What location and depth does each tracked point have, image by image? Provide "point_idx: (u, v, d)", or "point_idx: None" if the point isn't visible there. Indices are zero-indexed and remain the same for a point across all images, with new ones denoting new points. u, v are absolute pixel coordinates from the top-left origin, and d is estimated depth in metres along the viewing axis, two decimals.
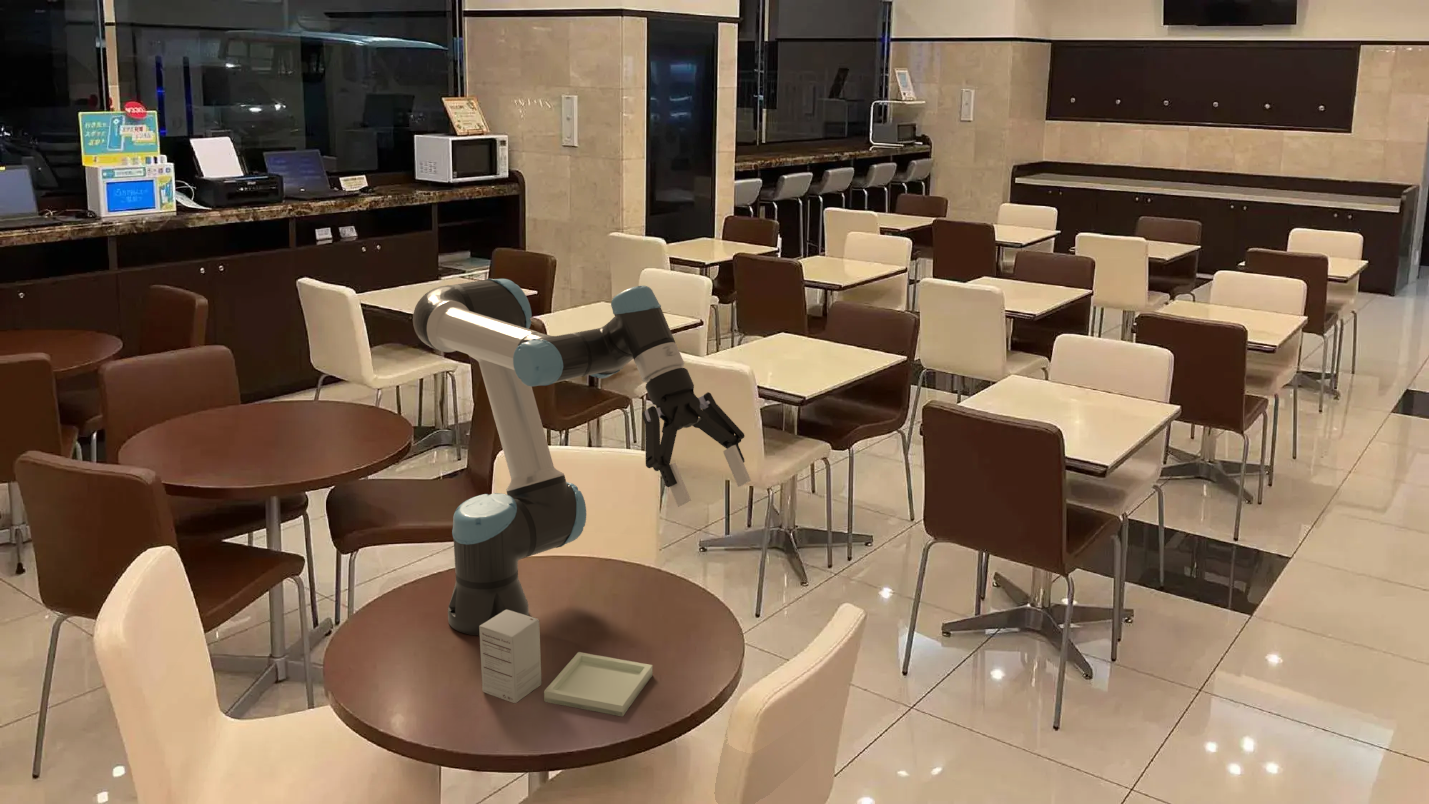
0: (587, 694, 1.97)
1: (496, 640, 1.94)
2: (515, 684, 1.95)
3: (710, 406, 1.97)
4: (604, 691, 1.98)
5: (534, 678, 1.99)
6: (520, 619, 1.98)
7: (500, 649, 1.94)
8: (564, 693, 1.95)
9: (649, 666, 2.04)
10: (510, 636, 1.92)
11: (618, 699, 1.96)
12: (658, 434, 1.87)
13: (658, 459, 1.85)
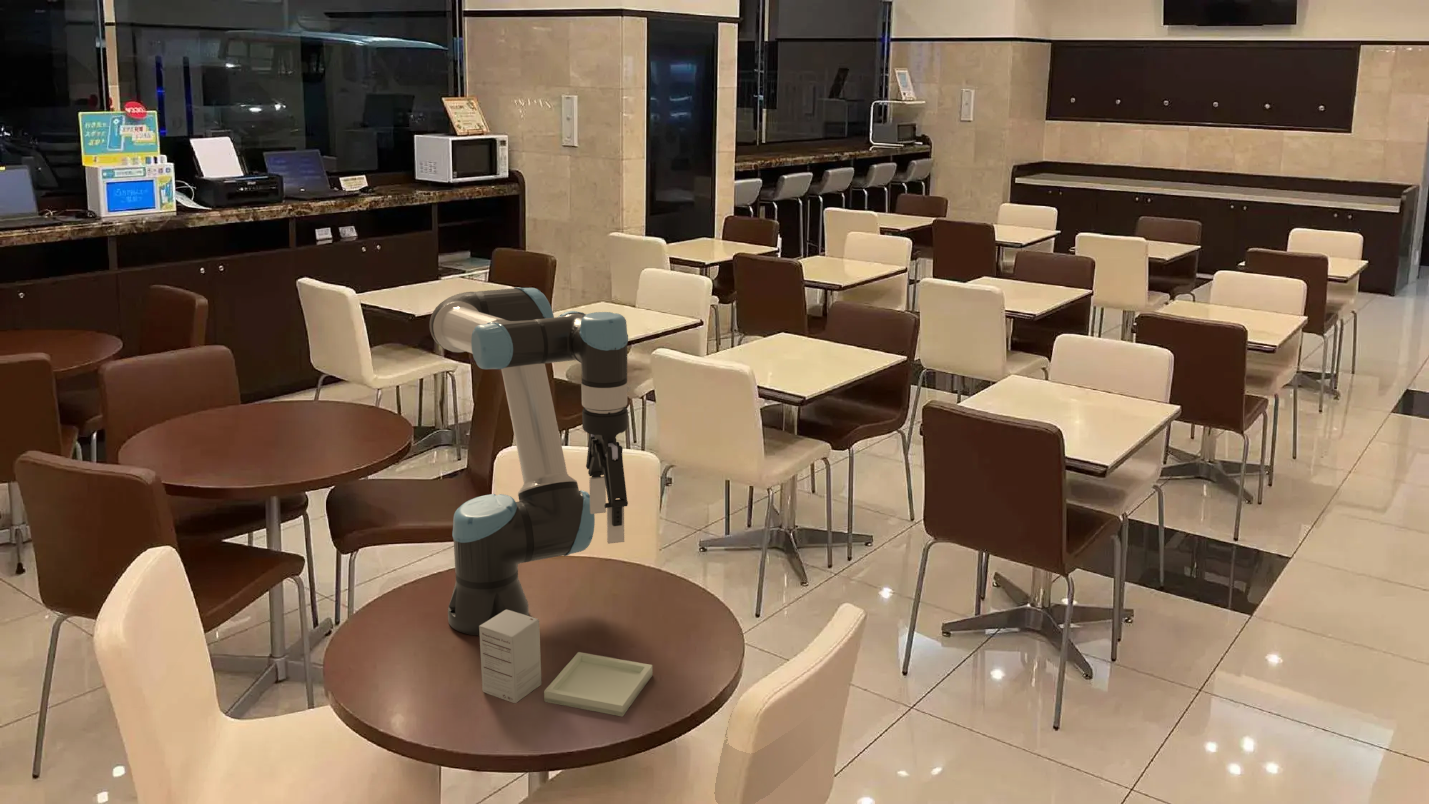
0: (587, 694, 1.97)
1: (496, 640, 1.94)
2: (515, 684, 1.95)
3: None
4: (604, 691, 1.98)
5: (534, 678, 1.99)
6: (520, 619, 1.98)
7: (500, 649, 1.94)
8: (564, 693, 1.95)
9: (649, 666, 2.04)
10: (510, 636, 1.92)
11: (618, 699, 1.96)
12: None
13: None
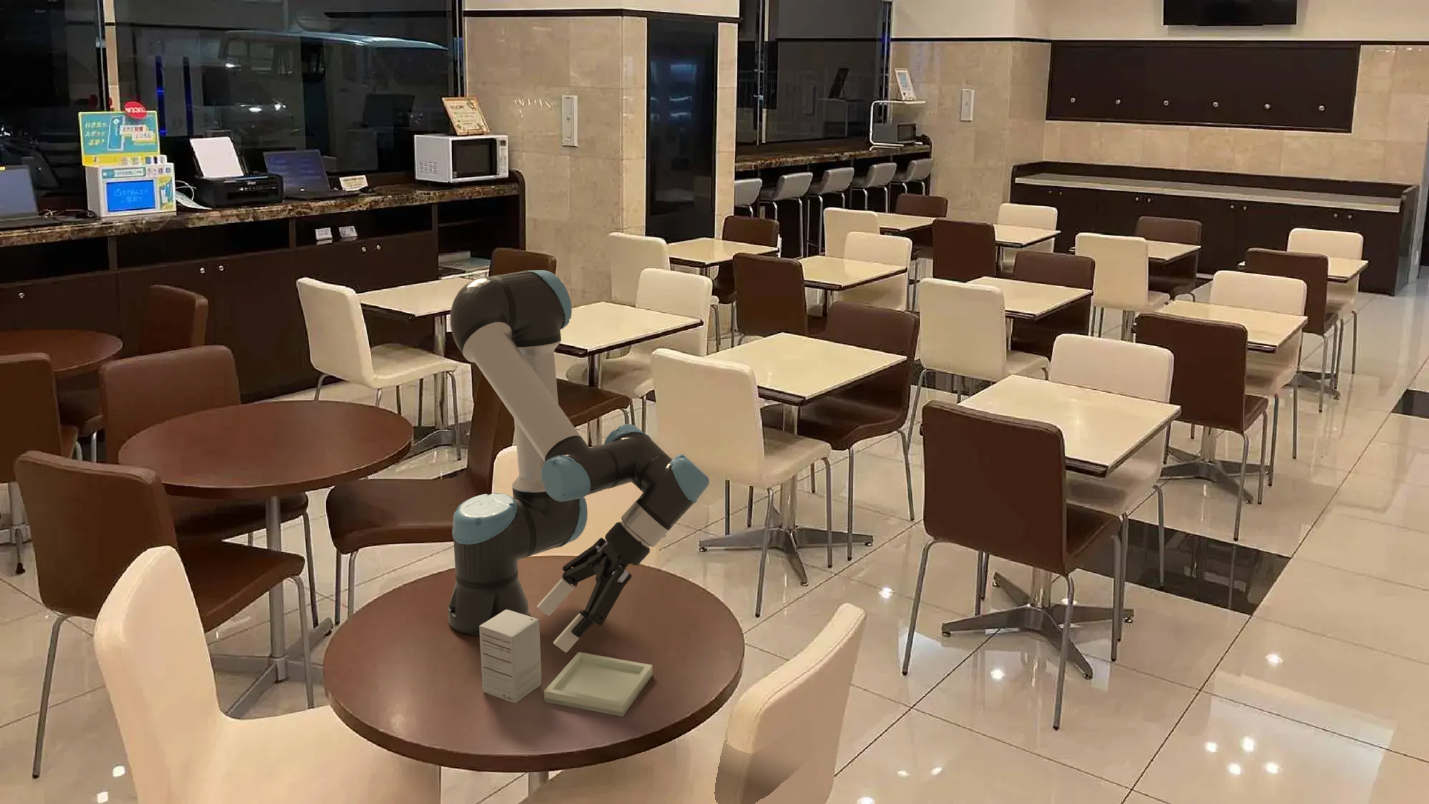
0: (587, 694, 1.97)
1: (496, 640, 1.94)
2: (515, 684, 1.95)
3: None
4: (604, 691, 1.98)
5: (534, 678, 1.99)
6: (520, 619, 1.98)
7: (500, 649, 1.94)
8: (564, 693, 1.95)
9: (649, 666, 2.04)
10: (510, 636, 1.92)
11: (618, 699, 1.96)
12: None
13: None
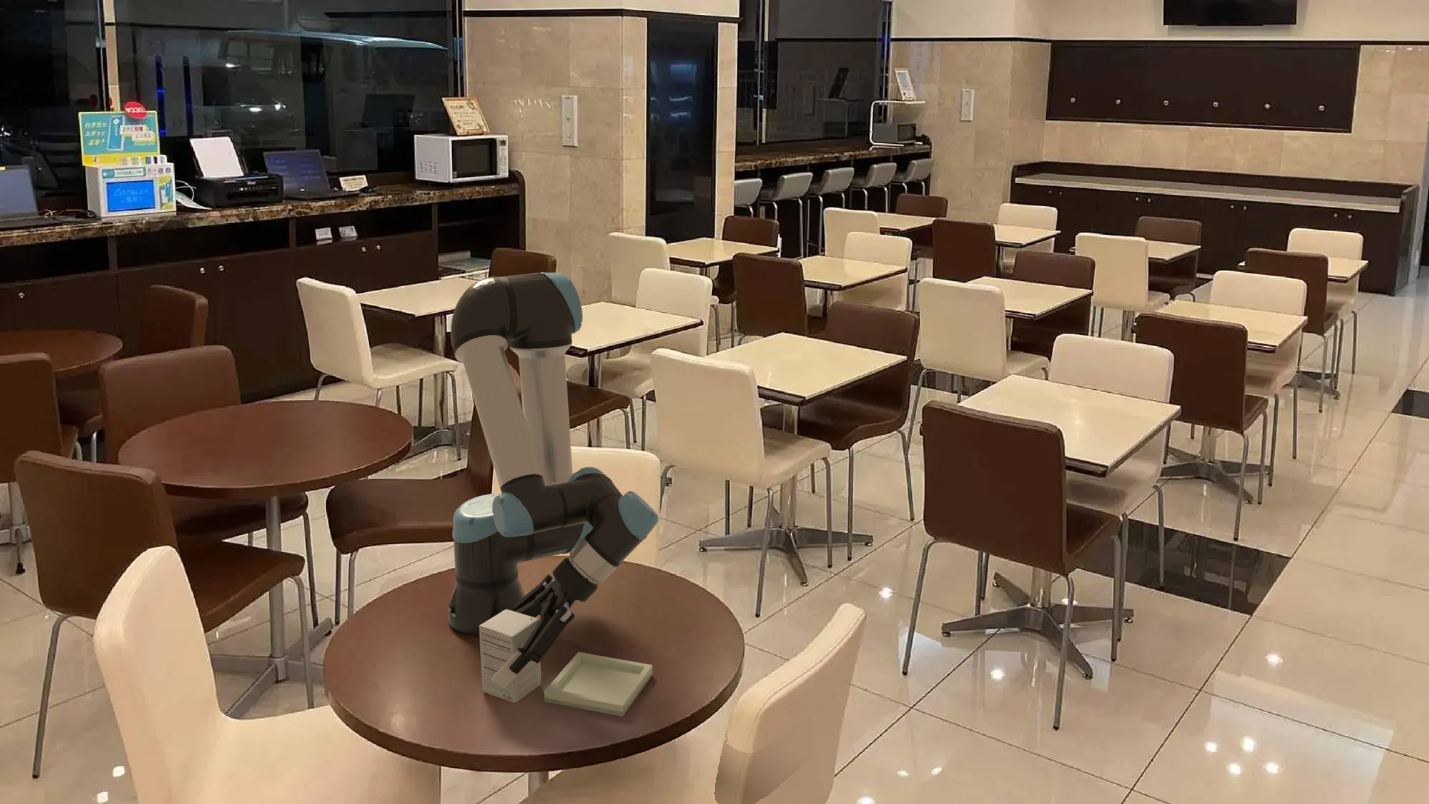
0: (587, 694, 1.97)
1: (496, 640, 1.94)
2: (514, 684, 1.95)
3: None
4: (604, 691, 1.98)
5: (534, 678, 1.99)
6: (520, 619, 1.98)
7: (500, 649, 1.94)
8: (564, 693, 1.95)
9: (649, 666, 2.04)
10: (510, 636, 1.92)
11: (618, 699, 1.96)
12: None
13: None
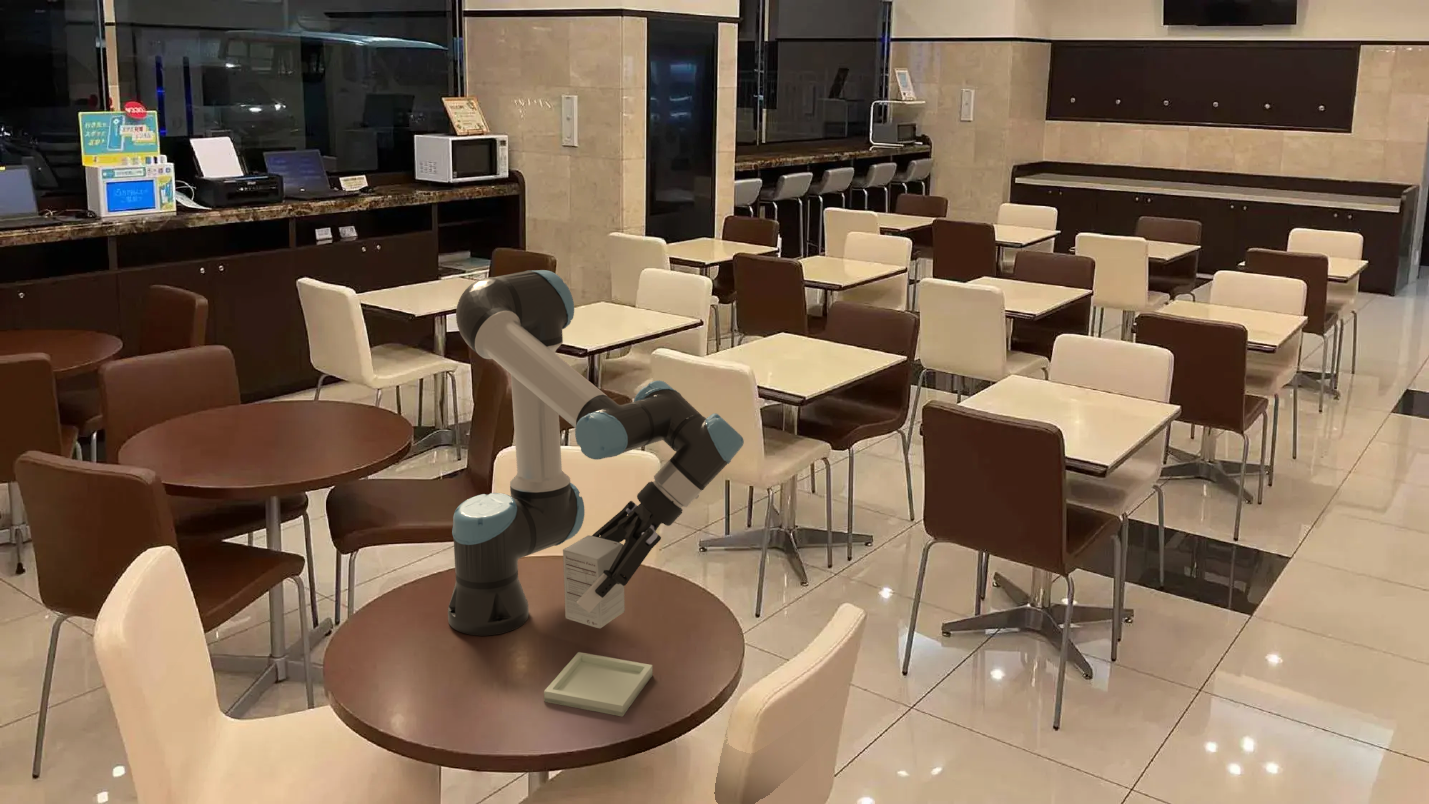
0: (587, 694, 1.97)
1: (581, 563, 1.91)
2: (599, 609, 1.91)
3: None
4: (604, 691, 1.98)
5: (617, 604, 1.96)
6: (604, 543, 1.94)
7: (585, 573, 1.91)
8: (564, 693, 1.95)
9: (649, 666, 2.04)
10: (596, 558, 1.89)
11: (618, 699, 1.96)
12: None
13: None
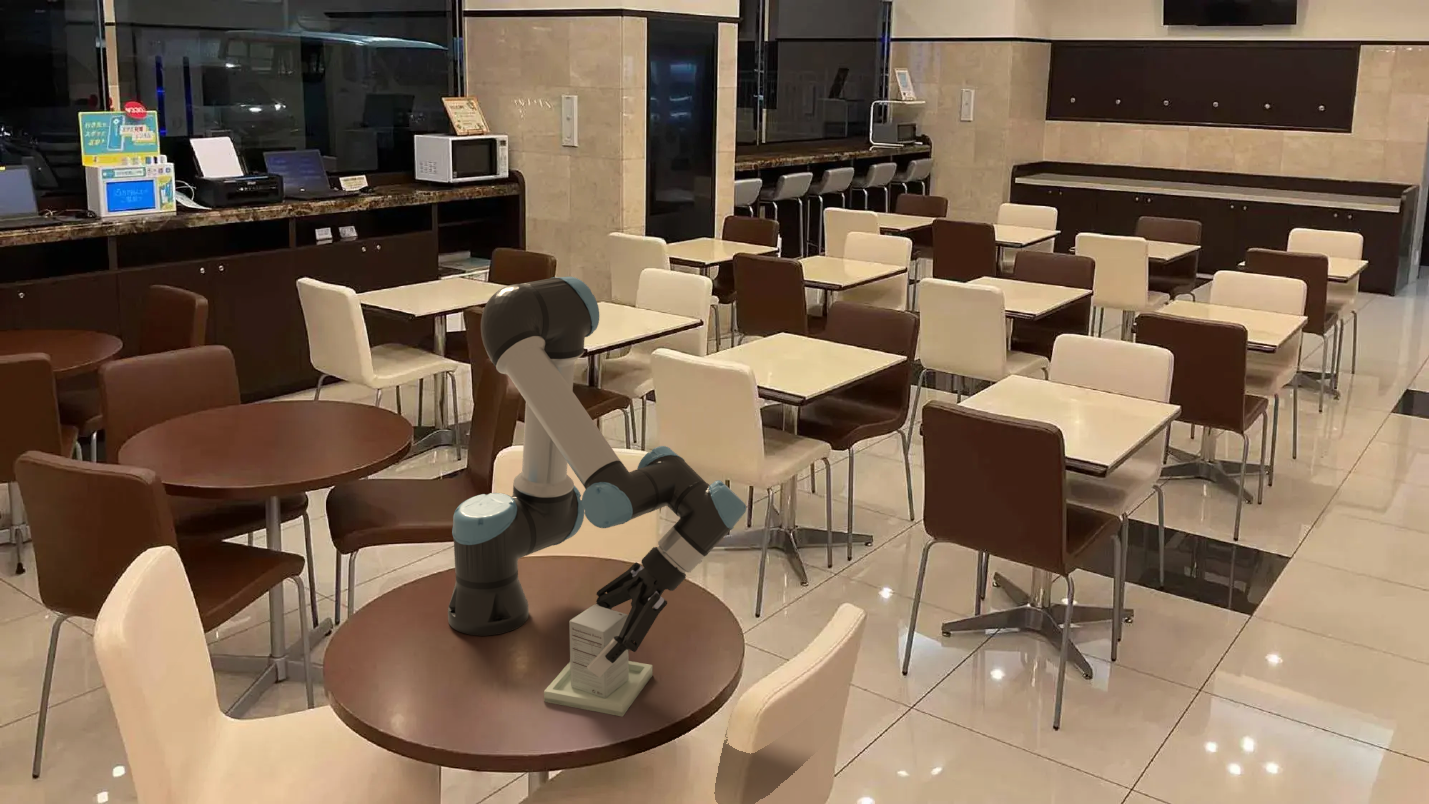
0: (587, 694, 1.97)
1: (587, 635, 1.94)
2: (605, 679, 1.95)
3: None
4: None
5: (622, 673, 2.00)
6: (609, 614, 1.98)
7: (590, 644, 1.95)
8: (564, 693, 1.95)
9: (649, 666, 2.04)
10: (602, 631, 1.93)
11: (618, 699, 1.96)
12: None
13: None
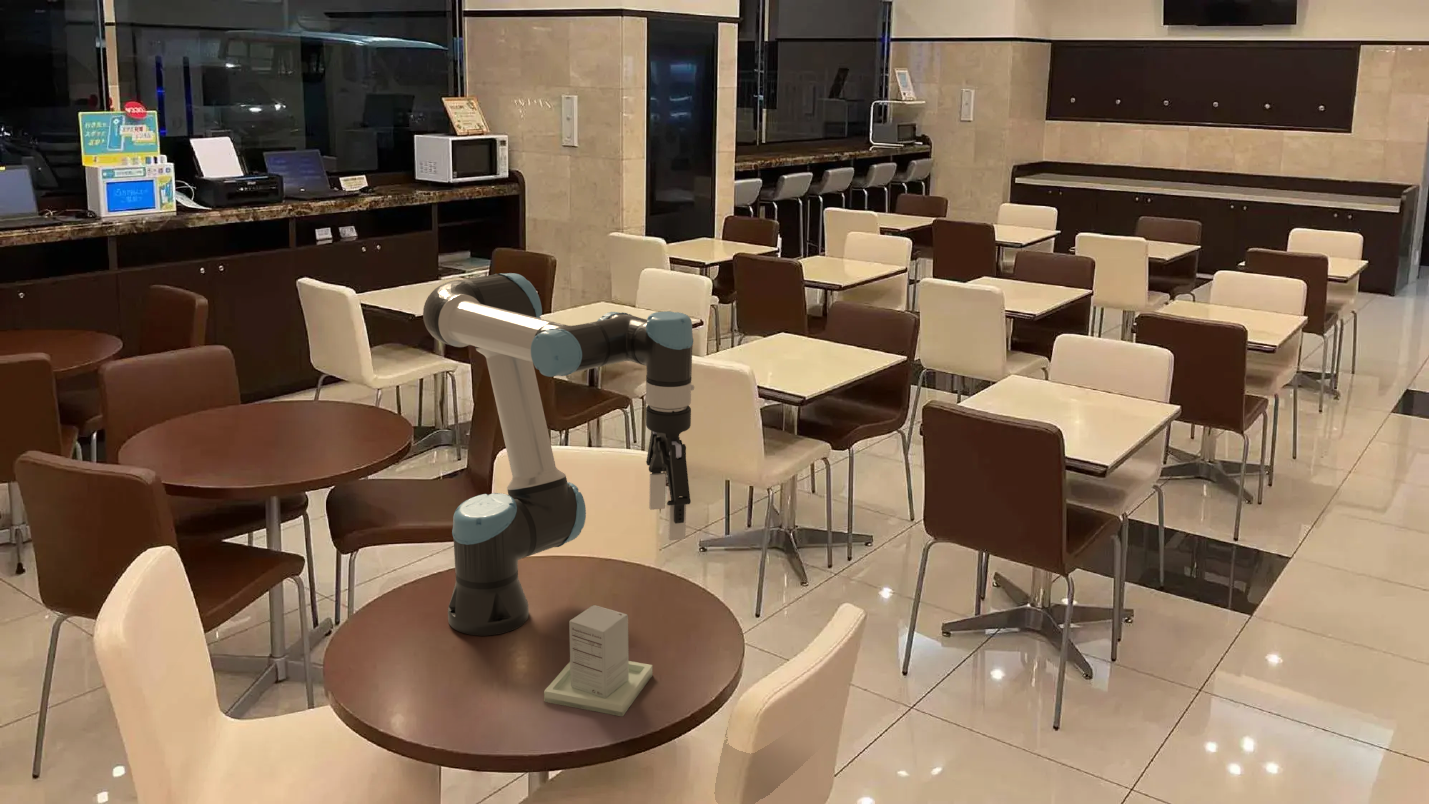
0: (587, 694, 1.97)
1: (587, 635, 1.94)
2: (605, 679, 1.95)
3: None
4: None
5: (622, 673, 2.00)
6: (609, 614, 1.98)
7: (590, 644, 1.95)
8: (564, 693, 1.95)
9: (649, 666, 2.04)
10: (602, 631, 1.93)
11: (618, 699, 1.96)
12: None
13: (689, 500, 1.92)
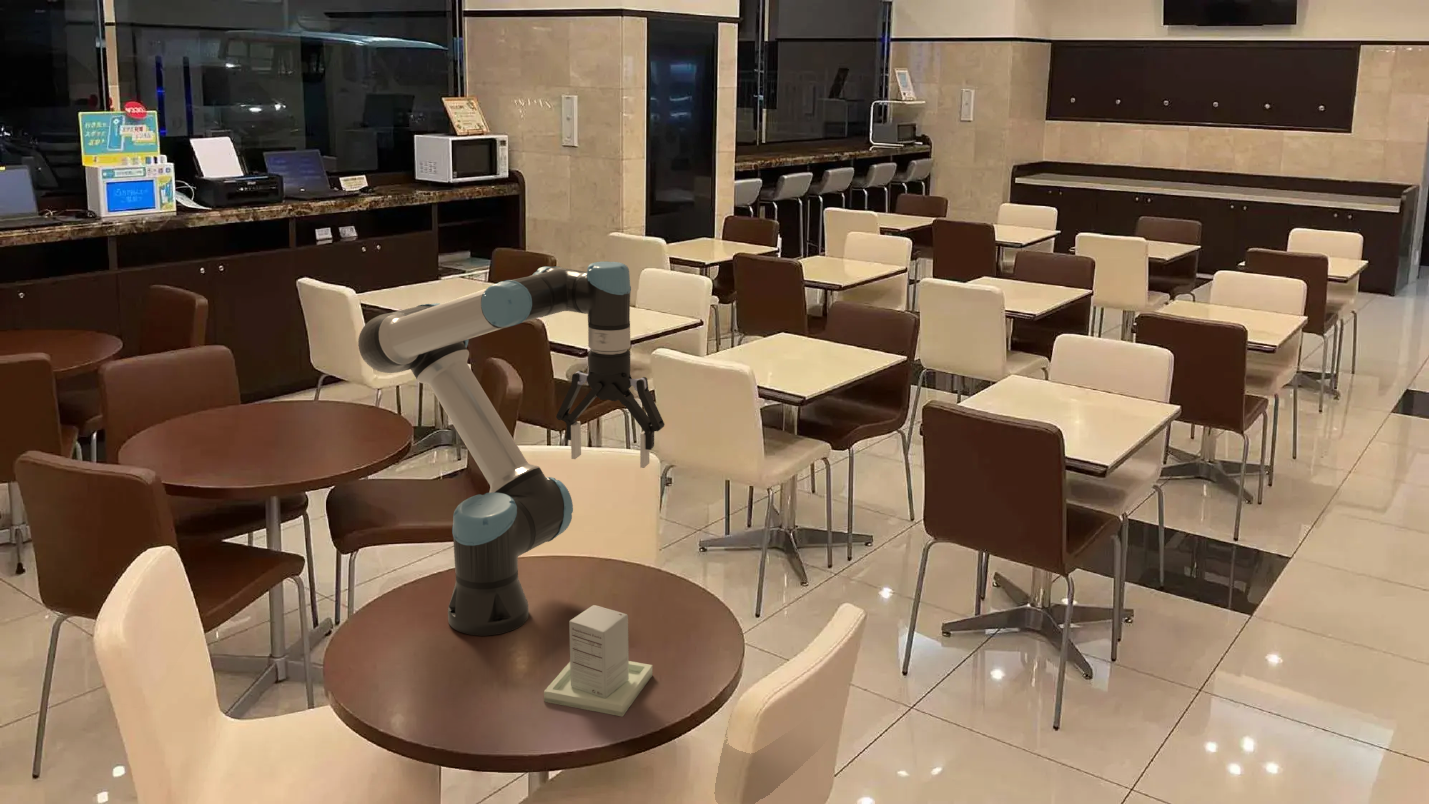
0: (587, 694, 1.97)
1: (587, 635, 1.94)
2: (605, 679, 1.95)
3: (638, 392, 2.10)
4: None
5: (622, 673, 2.00)
6: (609, 614, 1.98)
7: (590, 644, 1.95)
8: (564, 693, 1.95)
9: (649, 666, 2.04)
10: (602, 631, 1.93)
11: (618, 699, 1.96)
12: (570, 398, 2.15)
13: (560, 417, 2.16)
